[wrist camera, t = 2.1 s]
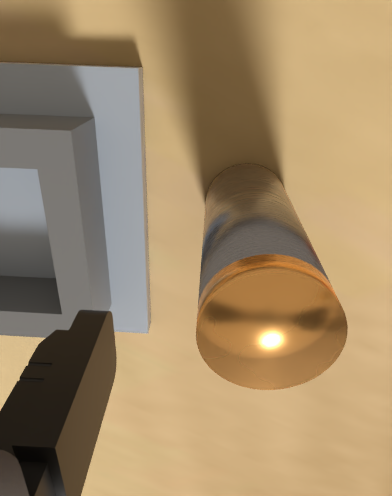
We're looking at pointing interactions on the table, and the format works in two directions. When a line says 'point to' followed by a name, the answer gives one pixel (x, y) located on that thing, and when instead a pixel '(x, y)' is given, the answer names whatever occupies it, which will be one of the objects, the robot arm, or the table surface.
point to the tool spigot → (263, 287)
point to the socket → (72, 197)
